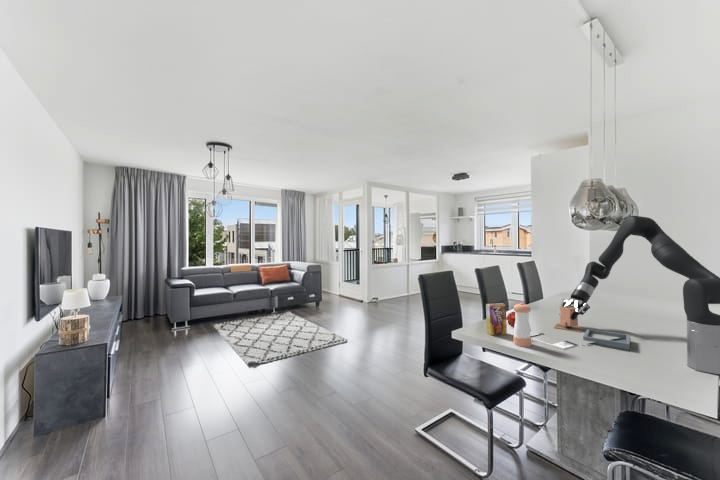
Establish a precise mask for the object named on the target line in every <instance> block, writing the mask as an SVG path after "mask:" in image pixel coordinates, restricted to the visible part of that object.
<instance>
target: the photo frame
mask: <svg viewBox="0 0 720 480" xmlns="http://www.w3.org/2000/svg"><path fill="white" fill-rule="evenodd" d="M543 334H545V333H544V332H540V333H536V334H535V333H534V334H530V337H531V341H535V342H538V343H541V344H544V345H548V346H551V347H555V348H557V349H560V350H566V349H570V348H574V347H577V346H579V344H578V343H577V344H576V343H574V342H571V341H568V340H564V341H559V342H556V343H548V342H546V341H542V340H540V339H536V338H533V337H534V336H538V335H543Z"/></svg>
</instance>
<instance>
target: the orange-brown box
mask: <svg viewBox="0 0 720 480" xmlns="http://www.w3.org/2000/svg"><path fill="white" fill-rule="evenodd" d="M575 309H576V308H574V307H570V306H569V305H568V306H563V307H560V306H559V313H560V315H559V316H560V317H559V319H560V320H559V323H560V324H562V325H564V326H570V327H571V326H579V324H578V323H579V319H578V318H579V315H578V316H577V317H576V319H574V320H572V319H571V318H570V317H571V315H572V314H573V312H575Z"/></svg>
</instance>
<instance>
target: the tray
mask: <svg viewBox="0 0 720 480" xmlns="http://www.w3.org/2000/svg"><path fill="white" fill-rule="evenodd" d="M590 334H594V335H595V334H597V335H602V336H610V337H616V338H612V339H605V338H598V337H593V336H592V337H591V336H589V335H590ZM630 336H631V335H630V334H627V333H626V334H625V333H620V332H619V333H618V332H612V331H605V330H599V329H592V328H586V330H585V332H584V334H583V336H582V337H583V339H582V340H583V341H588V342H589V343H588V342H587V345H592V346H593V345H594V346H597V347H598V346H599V347H603V348H609V349H610V348H611V349H614V350H615V349H616V350H621V351H626V352H630V346H631V337H630Z"/></svg>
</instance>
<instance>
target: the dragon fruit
mask: <svg viewBox="0 0 720 480" xmlns="http://www.w3.org/2000/svg"><path fill="white" fill-rule="evenodd" d="M506 321H507V325H509V326H513V327H514V326H515V311H511V312H509V313H508V314H507V315H506Z"/></svg>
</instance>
